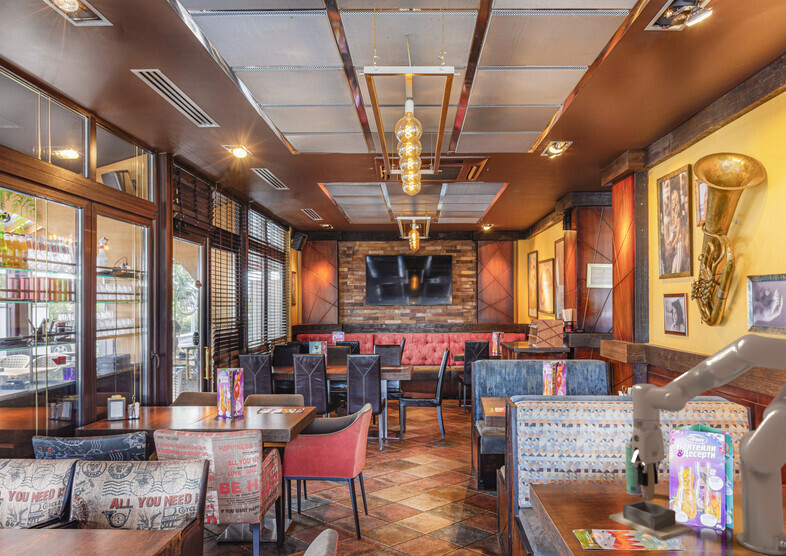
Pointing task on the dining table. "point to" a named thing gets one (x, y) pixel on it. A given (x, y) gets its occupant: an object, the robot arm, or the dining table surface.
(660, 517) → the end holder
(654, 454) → the handle
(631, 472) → the spray can
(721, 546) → the dining table surface
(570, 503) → the dining table surface
